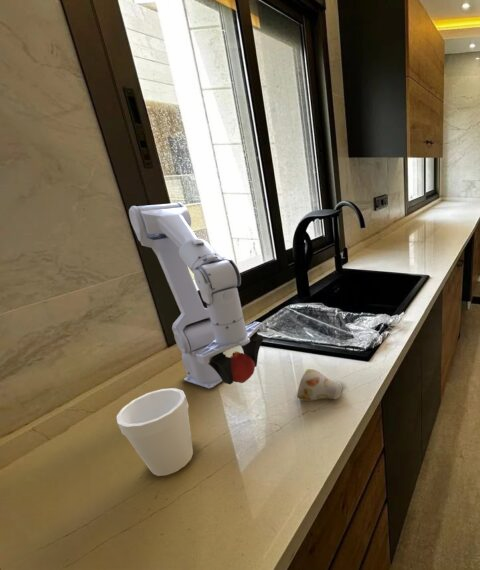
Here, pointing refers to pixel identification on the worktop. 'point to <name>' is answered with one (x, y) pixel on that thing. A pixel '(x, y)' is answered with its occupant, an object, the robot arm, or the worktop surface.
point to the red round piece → (241, 367)
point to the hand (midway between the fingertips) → (240, 373)
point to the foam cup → (159, 429)
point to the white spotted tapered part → (317, 386)
